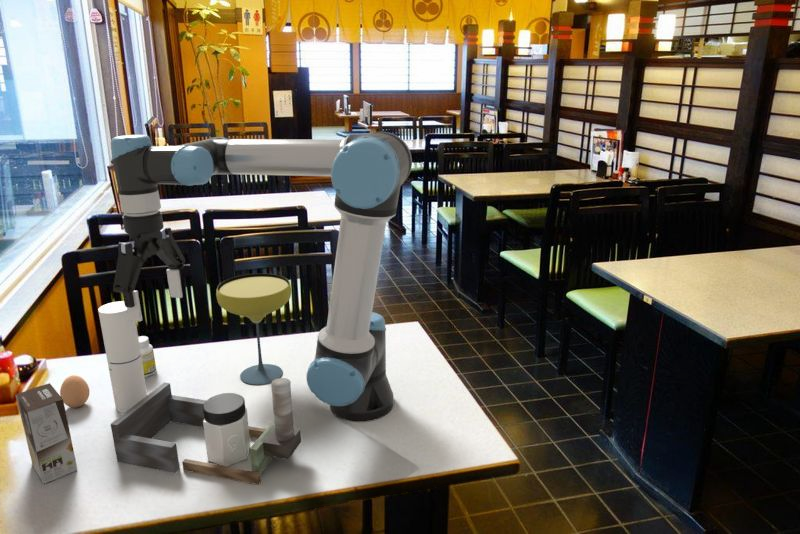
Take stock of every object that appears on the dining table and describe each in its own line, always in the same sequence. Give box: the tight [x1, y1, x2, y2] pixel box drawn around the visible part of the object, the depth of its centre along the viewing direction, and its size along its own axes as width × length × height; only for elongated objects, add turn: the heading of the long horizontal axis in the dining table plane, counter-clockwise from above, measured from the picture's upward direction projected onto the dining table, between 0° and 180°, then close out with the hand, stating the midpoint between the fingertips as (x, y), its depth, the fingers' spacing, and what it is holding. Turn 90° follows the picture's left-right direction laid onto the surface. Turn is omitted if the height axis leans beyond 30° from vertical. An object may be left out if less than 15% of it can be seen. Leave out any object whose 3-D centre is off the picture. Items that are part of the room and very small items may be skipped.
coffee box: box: [15, 382, 78, 484], centre depth 116 cm, size 9×6×16 cm
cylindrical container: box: [97, 300, 148, 413], centre depth 137 cm, size 7×7×25 cm
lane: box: [110, 382, 267, 485], centre depth 122 cm, size 31×17×9 cm, turn 75°
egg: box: [59, 374, 90, 409], centre depth 139 cm, size 6×6×8 cm
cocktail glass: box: [215, 273, 292, 386], centre depth 150 cm, size 18×18×25 cm
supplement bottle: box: [138, 335, 157, 378], centre depth 154 cm, size 5×5×10 cm
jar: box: [203, 392, 251, 467], centre depth 121 cm, size 9×8×12 cm
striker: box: [249, 377, 302, 475], centre depth 117 cm, size 7×11×18 cm, turn 165°
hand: (157, 308), depth 128 cm, fingers open, 13 cm apart
